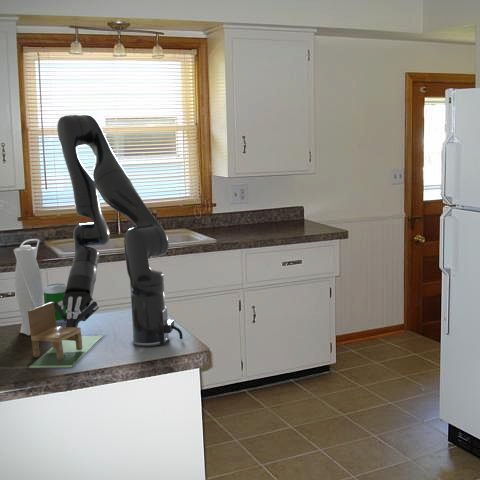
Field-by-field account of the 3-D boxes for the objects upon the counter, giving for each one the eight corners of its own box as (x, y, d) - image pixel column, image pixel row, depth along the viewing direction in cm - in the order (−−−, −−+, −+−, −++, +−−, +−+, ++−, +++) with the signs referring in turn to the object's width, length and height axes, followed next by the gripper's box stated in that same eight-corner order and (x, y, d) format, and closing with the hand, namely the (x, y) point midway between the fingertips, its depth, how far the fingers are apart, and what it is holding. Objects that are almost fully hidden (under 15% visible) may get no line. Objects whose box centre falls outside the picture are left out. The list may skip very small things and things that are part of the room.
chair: (82, 348, 200) (77, 303, 198) (61, 359, 192) (55, 312, 189) (56, 346, 203) (50, 301, 201) (33, 357, 195) (27, 310, 192)
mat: (103, 336, 213) (103, 335, 213) (71, 367, 186) (71, 366, 186) (65, 336, 213) (65, 336, 213) (28, 368, 186) (28, 367, 186)
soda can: (63, 326, 224) (60, 288, 222) (41, 325, 225) (38, 287, 224) (76, 319, 231) (73, 283, 229) (54, 318, 233) (51, 282, 231)
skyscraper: (39, 326, 224) (32, 237, 219) (52, 331, 219) (45, 239, 214) (14, 332, 218) (6, 240, 213) (27, 337, 213) (19, 243, 209)
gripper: (54, 273, 209) (42, 327, 198) (100, 273, 208) (90, 326, 198) (62, 287, 215) (50, 339, 205) (107, 286, 215) (97, 339, 204)
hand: (70, 333), depth 201 cm, fingers closed
